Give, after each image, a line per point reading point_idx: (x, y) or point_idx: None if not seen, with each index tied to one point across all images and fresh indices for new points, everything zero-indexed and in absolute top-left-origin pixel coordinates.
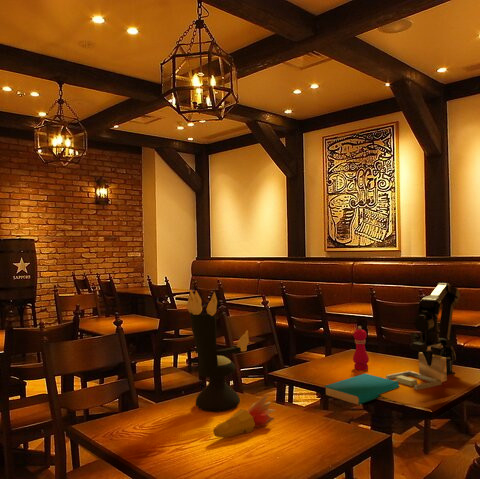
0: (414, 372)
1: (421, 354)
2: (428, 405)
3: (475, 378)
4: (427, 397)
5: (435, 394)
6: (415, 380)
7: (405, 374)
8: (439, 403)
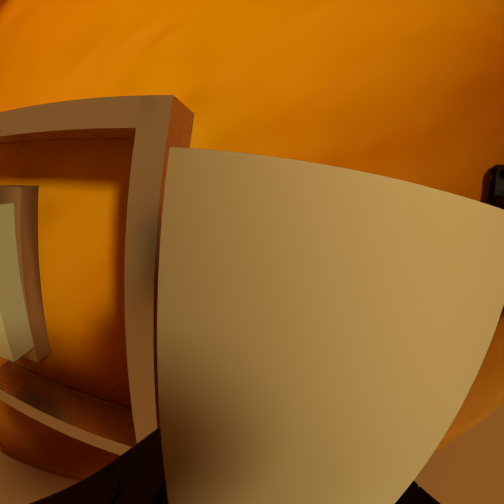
0: (149, 186)
1: (170, 341)
2: (5, 440)
3: (488, 415)
4: (28, 422)
5: (74, 438)
6: (5, 357)
7: (94, 130)
8: (39, 463)
